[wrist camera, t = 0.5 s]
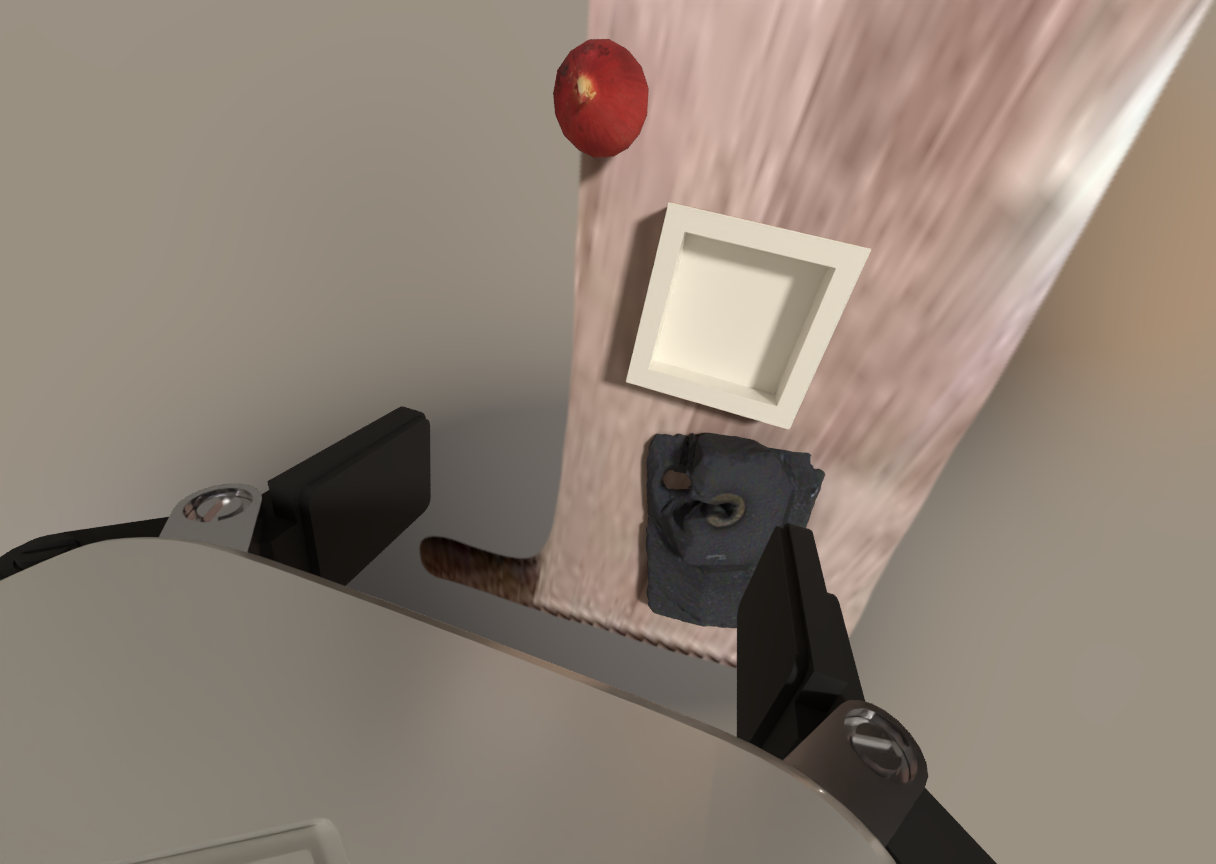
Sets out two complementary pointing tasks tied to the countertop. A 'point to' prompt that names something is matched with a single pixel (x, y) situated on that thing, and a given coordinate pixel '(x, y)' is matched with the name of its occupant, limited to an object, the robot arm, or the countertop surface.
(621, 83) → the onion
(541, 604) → the countertop surface
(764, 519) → the dark grey folded cloth
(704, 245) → the dish
